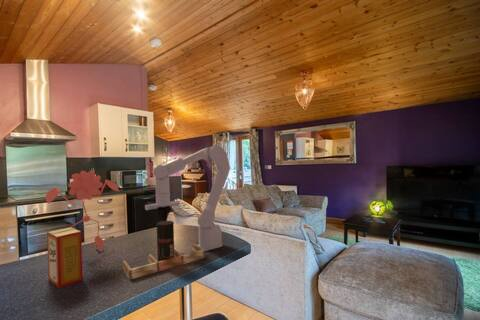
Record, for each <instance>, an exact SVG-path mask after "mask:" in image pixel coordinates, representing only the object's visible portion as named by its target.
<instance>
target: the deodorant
mask: <svg viewBox="0 0 480 320" xmlns="http://www.w3.org/2000/svg"><path fill="white" fill-rule="evenodd" d="M174 227H175V225H174V221H173V220H167V221H161V220H160V221H158V222H156V247H157V249H156V250H157V251H156V253H157V255H156V256H157V261H158V262H159V261H163V260H166V259H170V258H174V249H175V231H174Z"/></svg>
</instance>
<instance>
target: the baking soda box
mask: <svg viewBox="0 0 480 320" xmlns="http://www.w3.org/2000/svg"><path fill="white" fill-rule="evenodd" d="M46 234H47V240H46V241H47V265H48V267H47V268H48V273H47V274H48V281H50V283H52V284H53V285H54V286H55V287H56V288H58V289H60V288H64V287H66V286H69V285H72V284H75V283H78V282H80V281H83V279H84V278H83V275H84V273H83V249H82V247H83V246H82V242H83V241H82V231H81V230H78V229H75V228H74V227H67V228H62V229H61V228H60V229H56V230H51V231H47V233H46Z"/></svg>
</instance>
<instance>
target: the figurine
mask: <svg viewBox="0 0 480 320" xmlns="http://www.w3.org/2000/svg"><path fill="white" fill-rule="evenodd" d="M101 178H102V177H101V176H100V175H96V173H95V170H93V169H91V170H89V171H88V172H87V171H85V170H81V171H80V173H73V174H72V175H71V179H72V181H70V182H69V183H68V184H67V185H68V187H69V188H70V189H69V191H68V194H69V195H70V196H76V198H75V199H71V200H69V199H68V197H65V196H64V194H63V193H62V192H61V191H59V189H58V188H57V187H56V186H54V187H53V188H51V189H50V190H48V192H47V193H46V194H45V201H46V203H47V204H50V203H52V202H53V201H54V200H56V198H57V197H58V196H59V195H60V196H61V197H62V198H63V199H65V200H66V201H67V202H68V203H73V202H74V201H75V202H76V201H82V207H83V210H84V214H85V215H84V216H83V217H82V220H80V221H78V222H77V223H74V224H73V225H70V227H71V228H73V227H74V226H76V225H78V224H80V223H82V222H85V223H87V222H90V221H92V222H96V223H97V235H95V237H94V244H95V246H94V249H95V250H96V249H97V248H99V249H100V250H103V251H105V242H104V240H103V239H102V237H100V236H99V235H100V234H99V229H100V228H99V227H100V225H99V224H100V222H99V221H98V220H95V219H93V218H91V216H90V215H88V214H87V210H86V206H85V200H89V201H90V200H92V199H93V198H100V196H101V195H102V193H103V190H104V188H105V186H106V185H107V186H108V188H110V189H111V190H113V191H114V192H118V193H119V192H120V189H119V187H118V185H117V183H115V182H113V181H112V180H109V179H105V182H104V184H103V182H102V181H101ZM100 188H101V189H100ZM70 227H69V228H70ZM112 253H113V254H114V251H112V252H111V253H109V255H112ZM107 256H108V255H105V256H102V257H99V258H95V259H94V260H99V259H102V258H105V257H107ZM92 261H93V259H92V260H90V262H92ZM88 262H89V260H85V263H88Z"/></svg>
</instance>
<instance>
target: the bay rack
mask: <svg viewBox="0 0 480 320" xmlns="http://www.w3.org/2000/svg"><path fill="white" fill-rule="evenodd" d="M197 245H198V244H195V243H191V251H192V252H189V253H186V254H181V253H180V252H179V251H177V250H176V249H175V248H174V258H170V259H166V260H163V261H159V262H158V259H157V258H155V256H154V255H152V253H149V254H147V255H148V264H145V265H140V266H137V267H133V268H131V266H130V265H129V263H127V260H122V271H123V272H124V273H125V275H126V276H127V278H128V280H130V281H131V280H133V279H137V278H138V279H139V278H140V277H143V276H147V275H148V276H149V275H150V274H154V273H158V272H161V271H165V270H169V269H172V268H175V267H179V266H181V265H182V266H183V265H185V264H188V263H193V262H196V261H199V260H202V259H206V251H205V250H204V249H202V248H201V247H199V246H197Z"/></svg>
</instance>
